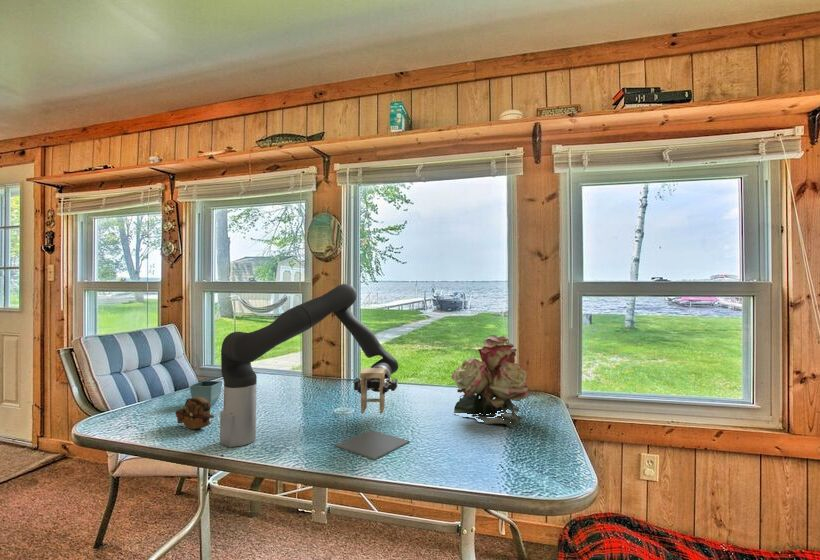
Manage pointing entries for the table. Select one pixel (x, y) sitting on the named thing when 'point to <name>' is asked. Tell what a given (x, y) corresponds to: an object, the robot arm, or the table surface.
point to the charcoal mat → (372, 444)
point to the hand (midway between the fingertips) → (372, 390)
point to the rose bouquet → (492, 382)
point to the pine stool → (364, 375)
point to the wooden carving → (195, 413)
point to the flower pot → (207, 390)
